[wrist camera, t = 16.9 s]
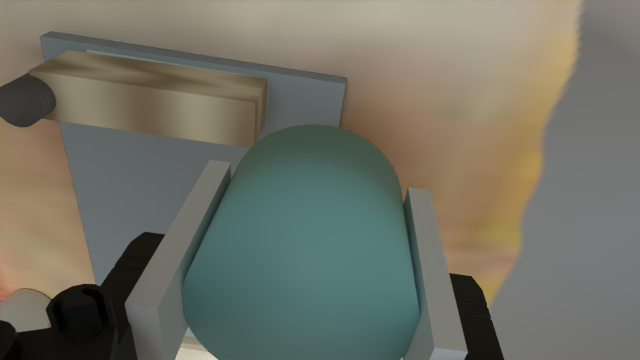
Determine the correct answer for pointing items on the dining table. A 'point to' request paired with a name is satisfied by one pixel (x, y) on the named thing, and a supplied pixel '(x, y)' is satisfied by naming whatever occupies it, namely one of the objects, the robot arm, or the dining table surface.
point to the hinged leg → (139, 98)
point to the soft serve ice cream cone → (25, 310)
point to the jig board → (167, 149)
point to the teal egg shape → (306, 255)
